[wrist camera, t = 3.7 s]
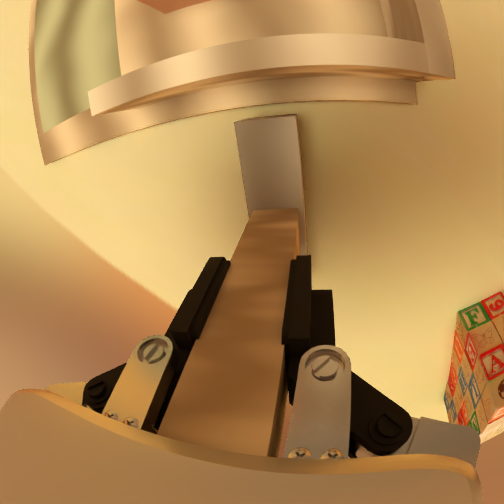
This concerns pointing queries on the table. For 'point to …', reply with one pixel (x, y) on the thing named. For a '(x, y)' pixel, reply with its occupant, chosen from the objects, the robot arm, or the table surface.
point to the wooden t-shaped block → (248, 307)
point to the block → (170, 4)
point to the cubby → (219, 60)
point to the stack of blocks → (478, 368)
